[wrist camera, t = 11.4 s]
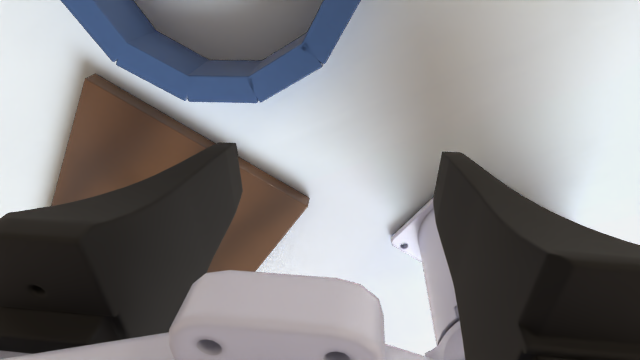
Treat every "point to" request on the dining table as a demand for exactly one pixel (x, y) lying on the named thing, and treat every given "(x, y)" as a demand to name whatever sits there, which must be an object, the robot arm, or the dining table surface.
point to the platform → (160, 154)
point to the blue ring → (198, 72)
